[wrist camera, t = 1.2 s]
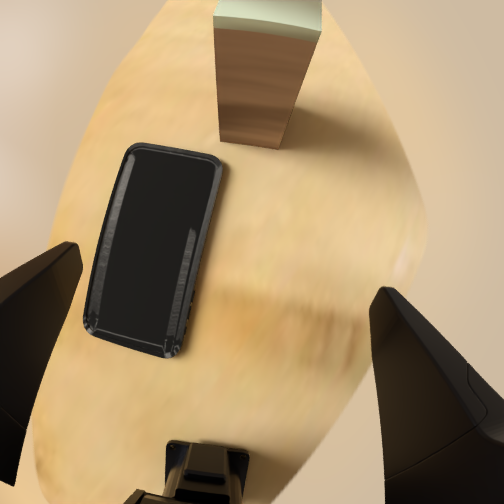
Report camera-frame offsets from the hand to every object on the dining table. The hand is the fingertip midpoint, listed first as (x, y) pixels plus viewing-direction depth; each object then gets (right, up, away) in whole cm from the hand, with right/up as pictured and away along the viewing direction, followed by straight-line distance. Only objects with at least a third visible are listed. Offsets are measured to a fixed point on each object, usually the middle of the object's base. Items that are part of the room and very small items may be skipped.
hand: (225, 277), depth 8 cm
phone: (-7, +1, +14) cm, 15 cm away
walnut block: (+1, +11, +15) cm, 18 cm away
